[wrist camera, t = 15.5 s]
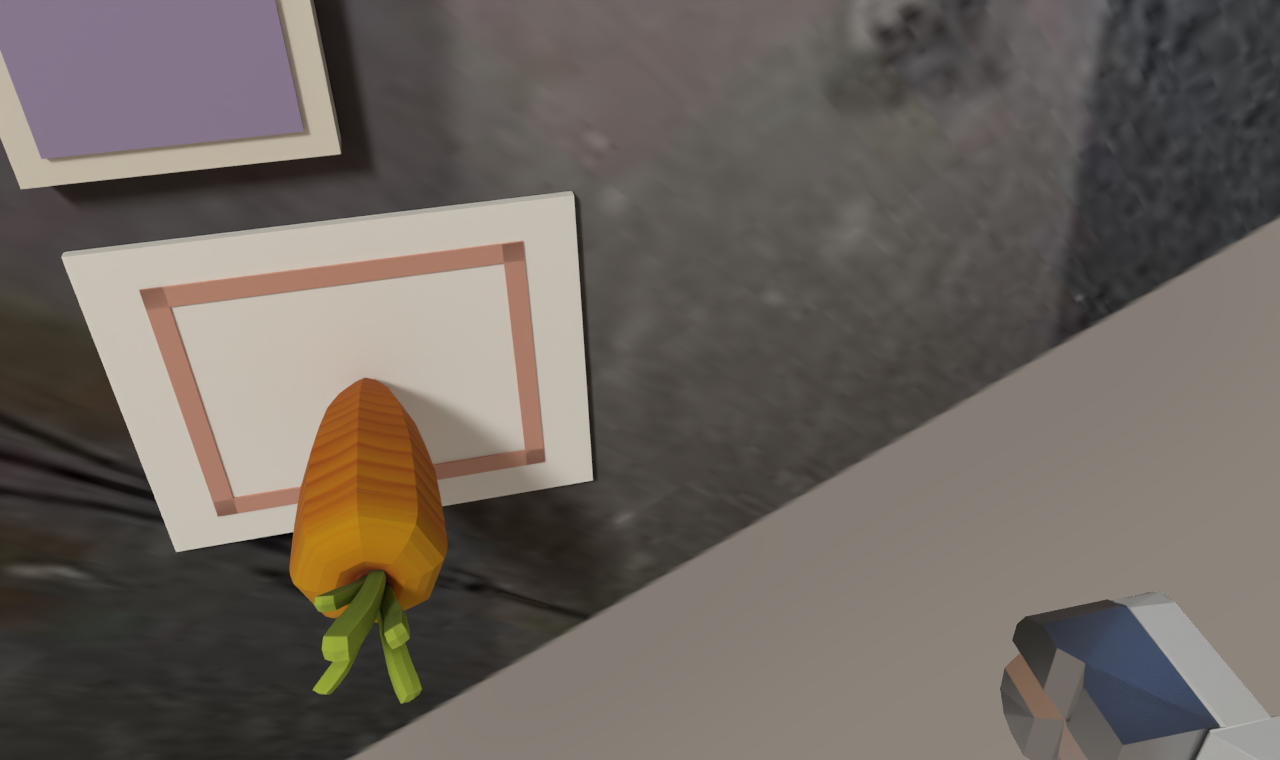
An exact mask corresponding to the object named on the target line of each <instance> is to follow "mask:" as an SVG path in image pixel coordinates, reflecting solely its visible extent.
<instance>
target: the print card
mask: <svg viewBox="0 0 1280 760" xmlns="http://www.w3.org/2000/svg"><path fill="white" fill-rule="evenodd" d="M61 258H62V260H63V263H64V266H65V268H66V271H67V273H68V276H69V278H70V281H71V284H72V286H73V289H74V291H75V294H76V296H77V299H78V301H79V304H80V307H81V309H82V312H83V314H84V317H85V319H86V322H87V325H88V327H89V330H90V332H91V335H92V337H93V340H94V343H95V345H96V348H97V350H98V353H99V355H100V358H101V361H102V363H103V366H104V368H105V371H106V373H107V376H108V378H109V381H110V384H111V386H112V389H113V391H114V394H115V396H116V399H117V402H118V404H119V407H120V409H121V412H122V414H123V417H124V420H125V422H126V425H127V427H128V430H129V432H130V435H131V438H132V440H133V443H134V445H135V448H136V450H137V453H138V456H139V458H140V461H141V463H142V466H143V468H144V471H145V473H146V476H147V479H148V481H149V484H150V486H151V489H152V491H153V494H154V497H155V499H156V502H157V504H158V507H159V509H160V512H161V515H162V517H163V520H164V522H165V525H166V527H167V530H168V533H169V535H170V538H171V540H172V543H173V545H174V548H175V550H176V552H180V551H185V550H191V549H197V548H203V547H209V546H214V545H220V544H226V543H232V542H238V541H244V540H249V539H255V538H261V537H267V536H273V535H279V534H284V533H290V532H294V524H295V518H296V512H297V505H298V499H299V493H300V488H301V485H302V481H303V478H304V474H305V471H306V467H307V463H308V460H309V456H310V453H311V449H312V446H313V444H314V441H315V438H316V435H317V432H318V429H319V426H320V424H321V421H322V419H323V417H324V414H325V412H326V409H327V407H328V406H329V405H330V404H331V403H332V401H333V400H334V399H335V398H336V397H337V395H338V394H339V393H341V392H342V391H343V390H345V389H346V388H347V387H349V386H350V385H352V384H353V383H354V382H356V381H358V380H360V379H362V378H364V377H365V378H370V379H375V380H377V381H379V382H381V383H382V384H384V385H385V386H387V387H388V388H389V389H390V391H391V392H392V393H393V394H394V396H395V397H396V398H397V399H398V401H399V402H400V403H401V405H402V406H403V407H404V409H405V410H406V412H407V413H408V414H409V416H410V417H411V418H412V420H413V421H414V422H415V424H416V426H417V428H418V430H419V432H420V434H421V437H422V439H423V441H424V443H425V445H426V448H427V450H428V453H429V455H430V458H431V461H432V463H433V466H434V468H435V472H436V477H437V482H438V487H439V492H440V497H441V502H442V506H447V505H453V504H459V503H465V502H471V501H476V500H482V499H488V498H494V497H500V496H505V495H511V494H517V493H523V492H529V491H535V490H540V489H546V488H552V487H558V486H564V485H569V484H575V483H581V482H587V481H593V472H592V457H591V442H590V427H589V412H588V397H587V382H586V367H585V352H584V337H583V322H582V307H581V292H580V277H579V262H578V247H577V232H576V217H575V202H574V194H573V192H572V191H568V192H559V193H551V194H543V195H535V196H526V197H518V198H510V199H501V200H493V201H485V202H476V203H468V204H460V205H451V206H443V207H435V208H426V209H418V210H410V211H402V212H393V213H385V214H377V215H368V216H360V217H352V218H343V219H335V220H327V221H318V222H310V223H302V224H294V225H285V226H277V227H269V228H260V229H252V230H244V231H235V232H227V233H219V234H210V235H202V236H194V237H185V238H177V239H169V240H161V241H152V242H144V243H136V244H127V245H119V246H111V247H102V248H94V249H86V250H77V251H69V252H64V253H63V255H62V257H61Z"/></svg>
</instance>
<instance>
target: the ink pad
mask: <svg viewBox="0 0 1280 760" xmlns="http://www.w3.org/2000/svg"><path fill="white" fill-rule="evenodd" d="M0 138H1V140H2V143H3V145H4V148H5V150H6V153H7V155H8V158H9V160H10V163H11V165H12V168H13V170H14V173H15V176H16V178H17V181H18V183H19V186H20V188H21V189H27V188H37V187H46V186H55V185H64V184H73V183H82V182H91V181H101V180H110V179H119V178H128V177H137V176H146V175H155V174H164V173H174V172H183V171H192V170H201V169H210V168H219V167H228V166H238V165H247V164H256V163H265V162H274V161H283V160H292V159H302V158H311V157H320V156H329V155H338V154H341V135H340V130H339V125H338V120H337V115H336V110H335V105H334V100H333V95H332V90H331V85H330V80H329V75H328V70H327V65H326V60H325V55H324V50H323V45H322V40H321V35H320V30H319V25H318V20H317V15H316V10H315V5H314V0H0Z"/></svg>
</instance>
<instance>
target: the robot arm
mask: <svg viewBox="0 0 1280 760" xmlns="http://www.w3.org/2000/svg"><path fill="white" fill-rule="evenodd" d="M1013 642H1014V644H1015V645H1016V647H1017V648H1018V650H1019V652H1020V654H1018V655H1017V656H1016V657H1015V658H1014V659H1013V660H1012V661H1011V662H1010V663H1009V664H1008V665H1007V666H1006V667H1005V669H1004V674H1003V679H1002V683H1001V688H1000V690H1001V697H1002V704H1003V711H1004V715H1005V717H1006V720H1007V723H1008V726H1009V728H1010V731H1011V733H1012V735H1013V737H1014V739H1015V741H1016V743H1017V744H1018V746H1019V748H1020V750H1021V751H1022V753H1023V755H1024V756H1026V757H1028V758H1029V759H1030V760H1280V715H1278V716H1272V717H1271V716H1270V715H1269V714H1268V713H1267V712H1266V710H1265V709H1264V708H1263V707H1262V706H1261V704H1260V703H1259V702H1258V701H1257V700H1256V698H1255V697H1254V696H1253V695H1252V694H1251V693H1250V691H1249V690H1248V689H1247V688H1246V687H1245V685H1244V684H1243V683H1242V682H1241V681H1240V680H1239V678H1238V677H1237V676H1236V675H1235V673H1234V672H1233V671H1232V670H1231V669H1230V668H1229V666H1228V665H1227V664H1226V663H1225V662H1224V660H1223V659H1222V658H1221V657H1220V656H1219V654H1218V653H1217V652H1216V651H1215V650H1214V648H1213V647H1212V646H1211V645H1210V644H1209V642H1208V641H1207V640H1206V639H1205V638H1204V637H1203V635H1202V634H1201V633H1200V632H1199V631H1198V629H1197V628H1196V627H1195V626H1194V625H1193V624H1192V622H1191V621H1190V620H1189V619H1188V618H1187V616H1186V615H1185V614H1184V613H1183V612H1182V611H1181V609H1180V608H1179V607H1178V606H1177V605H1176V603H1175V602H1174V601H1173V600H1172V599H1171V598H1169V597H1168V596H1166V595H1164V594H1163V593H1161V592H1149V593H1144V594H1140V595H1135V596H1130V597H1126V598H1121V599H1117V600H1112V601H1110V600H1103V601H1098V602H1093V603H1089V604H1084V605H1079V606H1074V607H1070V608H1065V609H1060V610H1055V611H1050V612H1046V613H1041V614H1036V615H1031V616H1026V617H1025V618H1024V619H1022V620H1021V621H1020V622H1019V623H1018V624H1017V626H1016V630H1015V633H1014V636H1013Z"/></svg>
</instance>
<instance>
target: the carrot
mask: <svg viewBox="0 0 1280 760" xmlns="http://www.w3.org/2000/svg"><path fill="white" fill-rule="evenodd" d="M446 551H447V536H446V529H445V522H444V515H443V509H442V502H441V497H440V492H439V487H438V482H437V477H436V472H435V468H434V466H433V463H432V461H431V458H430V455H429V453H428V450H427V448H426V445H425V443H424V441H423V439H422V437H421V434H420V432H419V430H418V428H417V426H416V424H415V422H414V421H413V420H412V418H411V417H410V416H409V414H408V413H407V412H406V410H405V409H404V407H403V406H402V405H401V403H400V402H399V401H398V399H397V398H396V397H395V396H394V394H393V393H392V392H391V391H390V389H389V388H388V387H387V386H385V385H384V384H382V383H381V382H379V381H377V380H375V379H370V378H365V377H364V378H362V379H360V380H358V381H356V382H354V383H353V384H352V385H350V386H349V387H347V388H346V389H345V390H343V391H342V392H341V393H339V394H338V395H337V397H336V398H335V399H334V400H333V401H332V403H331V404H330V405H329V406H328V407H327V409H326V412H325V414H324V417H323V419H322V421H321V424H320V426H319V429H318V432H317V435H316V438H315V441H314V444H313V446H312V449H311V453H310V456H309V460H308V463H307V467H306V471H305V474H304V478H303V481H302V485H301V488H300V493H299V499H298V505H297V512H296V518H295V524H294V532H293V541H292V550H291V559H290V576H291V578H292V581H293V583H294V584H295V586H296V587H297V588H298V589H299V590H300V591H301V592H302V593H303V594H304V595H305V596H306V597H307V598H308V599H309V600H310V601H311V602H312V603H313V604H314V606H315V607H316V608H317V610H318V611H320V612H322V613H323V614H324V615H325V616H327V617H331V618H337V619H336V621H335V622H334V623H333V624H332V626H331V627H330V628H329V630H328V631H327V632H326V634H325V635H324V636H323V644H322V651H323V654H324V657H325V660H329V661H333V662H332V664H331V665H330V667H329V668H328V669H327V671H326V672H325V673H324V675H323V676H322V677H321V679H320V680H319V681H318V683H317V684H316V686H315V687H314V688H313V691H315V692H317V693H319V694H328V695H329V694H331V693H332V692H333V691H334V690H335V689H336V688H337V687H338V685H339V684H340V683H341V682H342V680H343V679H344V677H345V676H346V675H347V673H348V672H349V670H350V668H351V666H352V664H353V662H354V660H355V658H356V656H357V653H358V651H359V648H360V646H361V644H362V642H363V641H364V639H365V637H366V636H367V634H368V633H369V631H370V629H371V628H372V626H373V625H374V623H375V622H378V626H379V631H380V636H381V640H382V645H383V649H384V654H385V658H386V663H387V667H388V672H389V676H390V678H391V681H392V684H393V687H394V690H395V693H396V695H397V697H398V699H399V701H400V702H401V704H402V703H406V702H409V701H411V700H413V699H414V698H415V697H416V696H418V695H419V694H420V692H421V690H422V688H421V685H420V682H419V679H418V676H417V674H416V671H415V669H414V666H413V664H412V661H411V658H410V656H409V653H408V650H407V647H406V644H405V642H406V641H407V640H408V639H409V638H410V630H409V626H408V621H407V617H406V614H405V613H404V611H405V610H407V609H409V608H411V607H413V606H415V605H417V604H419V603H421V602H423V601H425V600H427V599H429V597H430V595H431V592H432V589H433V587H434V584H435V582H436V579H437V576H438V574H439V571H440V569H441V566H442V563H443V561H444V558H445V555H446Z"/></svg>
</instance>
